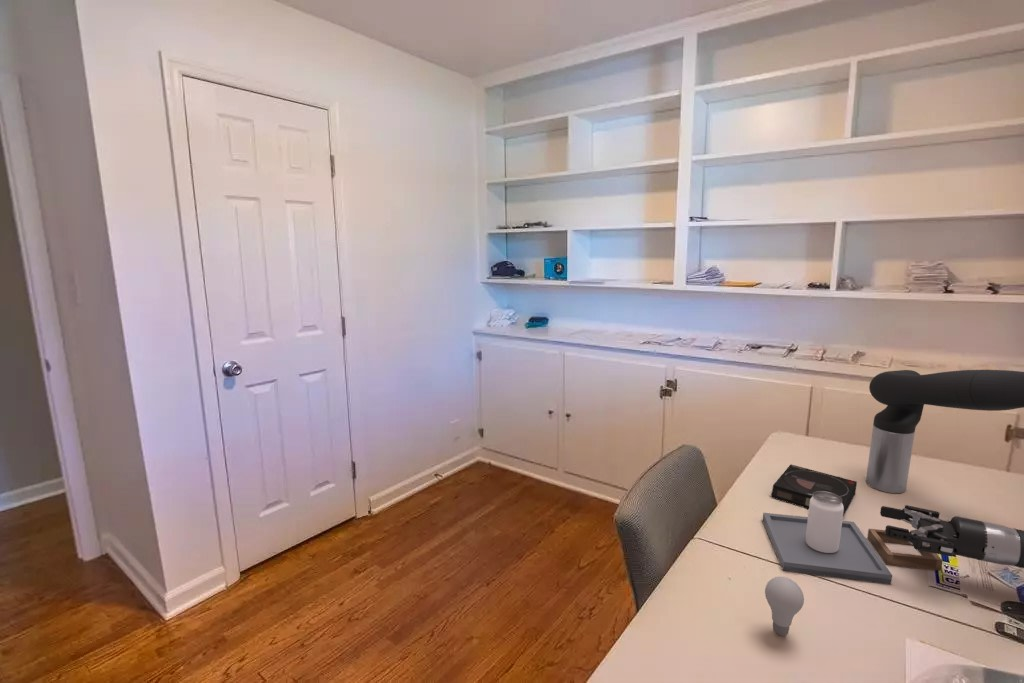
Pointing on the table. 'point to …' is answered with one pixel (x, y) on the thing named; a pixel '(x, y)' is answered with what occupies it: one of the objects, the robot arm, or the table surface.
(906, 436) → the robot arm
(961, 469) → the table surface
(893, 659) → the table surface
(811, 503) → the can
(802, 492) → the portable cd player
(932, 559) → the holder
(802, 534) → the tray
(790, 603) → the lightbulb
